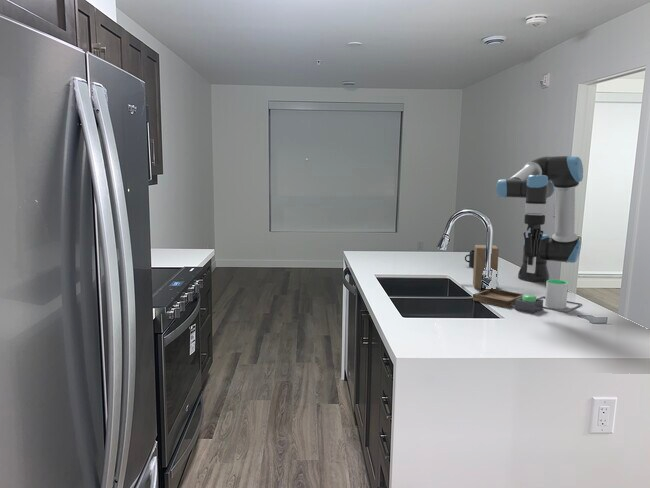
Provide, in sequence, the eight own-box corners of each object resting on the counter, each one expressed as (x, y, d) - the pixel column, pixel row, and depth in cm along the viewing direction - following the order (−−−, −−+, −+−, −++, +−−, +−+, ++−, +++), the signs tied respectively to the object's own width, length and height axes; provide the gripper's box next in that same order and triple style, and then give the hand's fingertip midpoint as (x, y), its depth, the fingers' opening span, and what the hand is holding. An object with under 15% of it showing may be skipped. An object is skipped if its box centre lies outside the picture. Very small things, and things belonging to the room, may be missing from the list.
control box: (523, 305, 207) (524, 296, 206) (542, 309, 201) (543, 300, 200) (514, 309, 201) (515, 299, 200) (533, 313, 195) (534, 303, 195)
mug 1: (463, 264, 295) (464, 249, 294) (484, 265, 293) (485, 250, 291) (464, 267, 286) (465, 252, 285) (486, 268, 284) (487, 253, 282)
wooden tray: (491, 294, 226) (491, 288, 225) (525, 300, 214) (525, 294, 214) (472, 300, 215) (473, 294, 214) (507, 307, 203) (508, 301, 203)
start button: (525, 304, 204) (526, 293, 204) (537, 307, 201) (538, 296, 200) (519, 306, 201) (520, 296, 200) (532, 309, 197) (532, 298, 196)
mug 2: (539, 300, 215) (541, 277, 213) (558, 301, 214) (560, 277, 212) (548, 308, 203) (550, 283, 201) (569, 309, 202) (571, 284, 200)
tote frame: (542, 297, 220) (542, 296, 220) (582, 304, 208) (582, 303, 208) (525, 304, 209) (525, 303, 208) (566, 312, 196) (566, 311, 196)
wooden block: (496, 290, 233) (498, 248, 230) (474, 289, 235) (476, 247, 232) (493, 285, 243) (495, 245, 240) (472, 284, 245) (474, 244, 242)
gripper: (532, 212, 202) (529, 269, 205) (518, 214, 193) (514, 273, 197) (551, 214, 197) (547, 271, 200) (537, 215, 188) (532, 276, 191)
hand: (530, 272), depth 198 cm, fingers closed
